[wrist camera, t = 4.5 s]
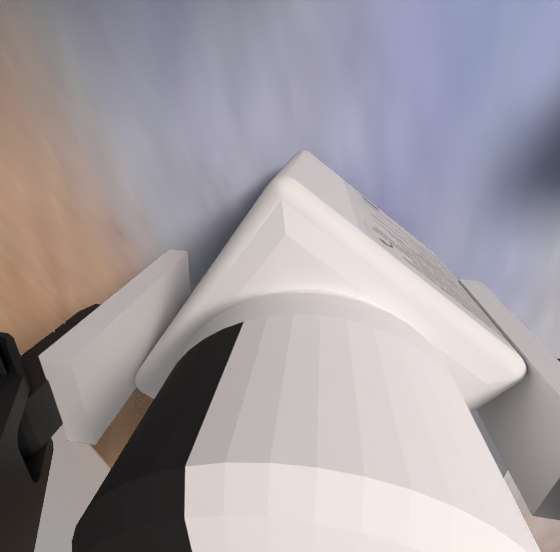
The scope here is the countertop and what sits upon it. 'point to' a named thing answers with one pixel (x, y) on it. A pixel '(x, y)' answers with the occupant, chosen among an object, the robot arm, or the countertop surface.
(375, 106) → the countertop surface
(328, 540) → the container
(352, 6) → the countertop surface
